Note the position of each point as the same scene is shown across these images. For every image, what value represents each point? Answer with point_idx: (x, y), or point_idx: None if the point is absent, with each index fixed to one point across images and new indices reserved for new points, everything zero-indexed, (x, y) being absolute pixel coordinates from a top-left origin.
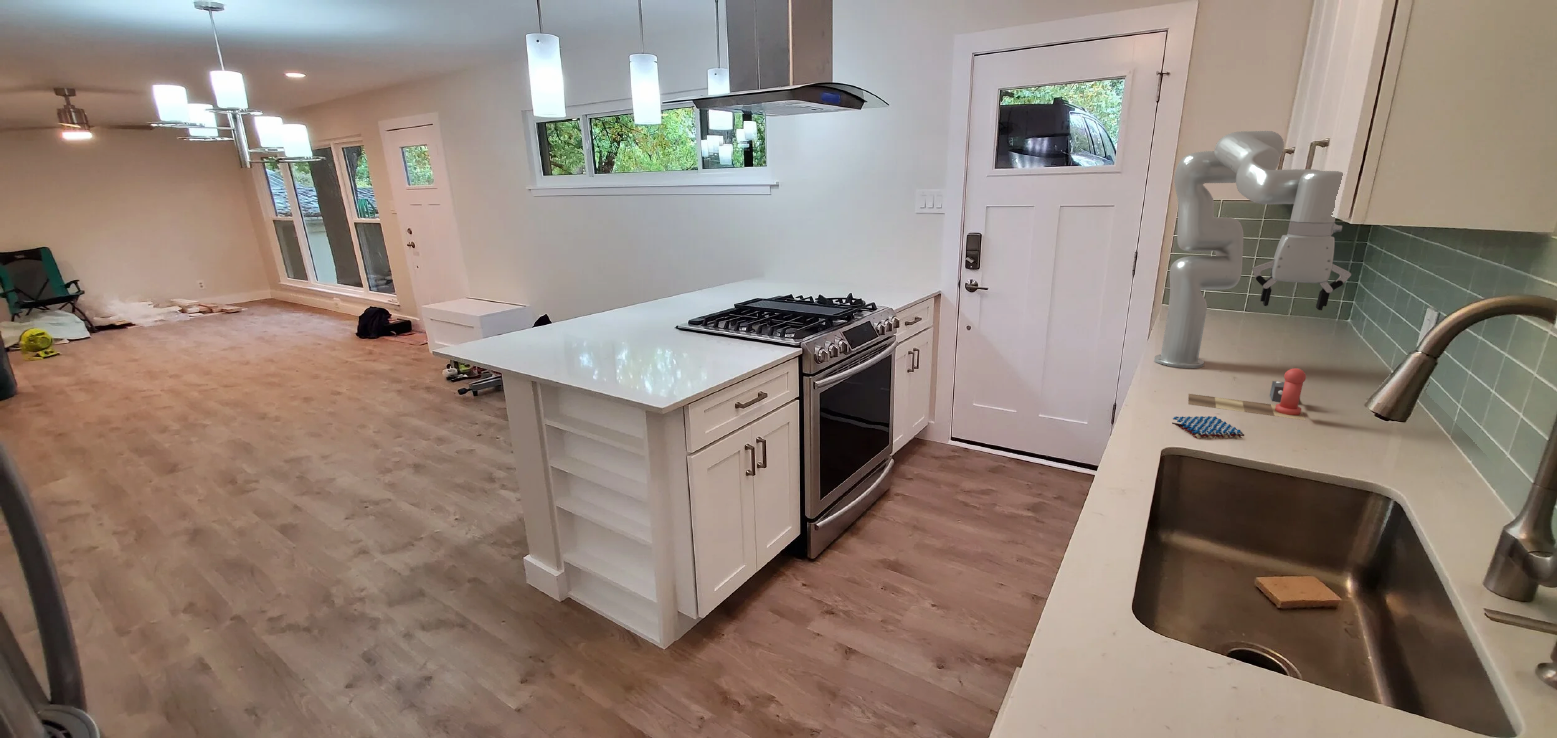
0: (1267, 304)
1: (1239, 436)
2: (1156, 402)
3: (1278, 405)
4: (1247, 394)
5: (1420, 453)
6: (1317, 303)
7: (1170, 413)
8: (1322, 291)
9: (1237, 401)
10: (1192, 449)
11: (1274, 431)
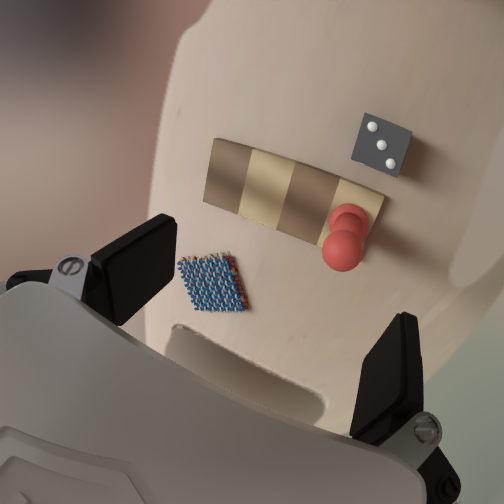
0: (167, 281)
1: (244, 305)
2: (173, 175)
3: (334, 219)
4: (335, 84)
5: (430, 342)
6: (386, 346)
7: (184, 224)
8: (370, 430)
9: (284, 170)
10: (194, 330)
11: (297, 285)
